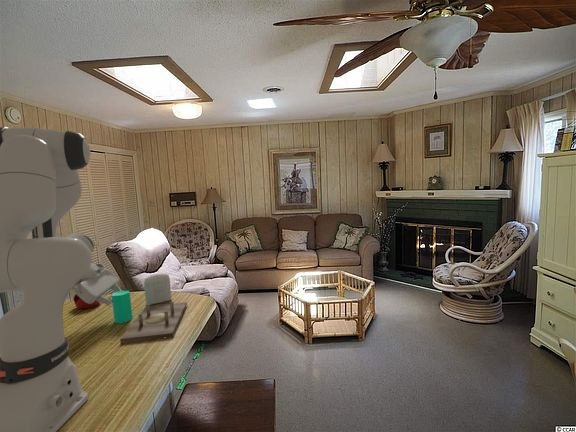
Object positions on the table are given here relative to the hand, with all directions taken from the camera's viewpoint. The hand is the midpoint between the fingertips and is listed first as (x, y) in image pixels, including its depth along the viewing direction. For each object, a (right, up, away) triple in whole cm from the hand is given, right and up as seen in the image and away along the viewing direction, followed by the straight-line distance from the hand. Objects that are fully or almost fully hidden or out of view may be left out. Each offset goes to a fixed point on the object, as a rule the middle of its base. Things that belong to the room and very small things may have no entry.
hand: (116, 298), depth 112 cm
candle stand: (+17, -8, -3) cm, 19 cm away
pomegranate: (-22, -8, +17) cm, 28 cm away
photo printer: (+9, -6, +17) cm, 20 cm away
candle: (+2, -8, +1) cm, 9 cm away
